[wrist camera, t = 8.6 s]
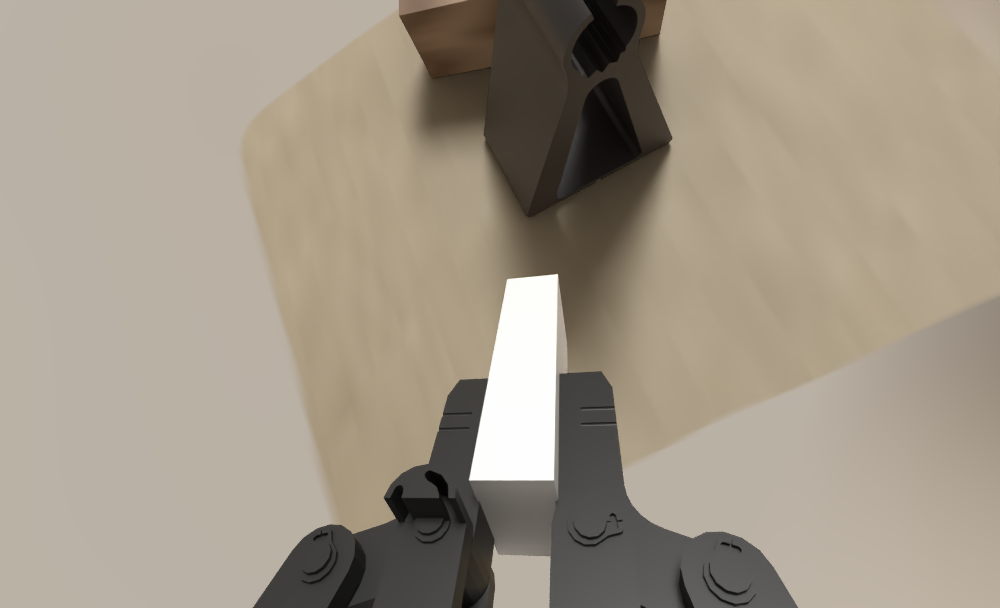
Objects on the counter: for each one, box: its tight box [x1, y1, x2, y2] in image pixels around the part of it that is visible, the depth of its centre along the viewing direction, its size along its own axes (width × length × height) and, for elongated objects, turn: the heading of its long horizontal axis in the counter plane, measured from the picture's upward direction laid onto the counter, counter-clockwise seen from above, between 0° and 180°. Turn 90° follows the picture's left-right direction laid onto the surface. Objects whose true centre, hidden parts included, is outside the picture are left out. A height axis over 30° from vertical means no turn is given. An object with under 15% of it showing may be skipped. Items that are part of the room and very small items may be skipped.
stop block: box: [399, 0, 666, 78], centre depth 24 cm, size 14×3×5 cm, turn 93°
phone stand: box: [484, 0, 672, 217], centre depth 19 cm, size 9×6×12 cm, turn 116°
